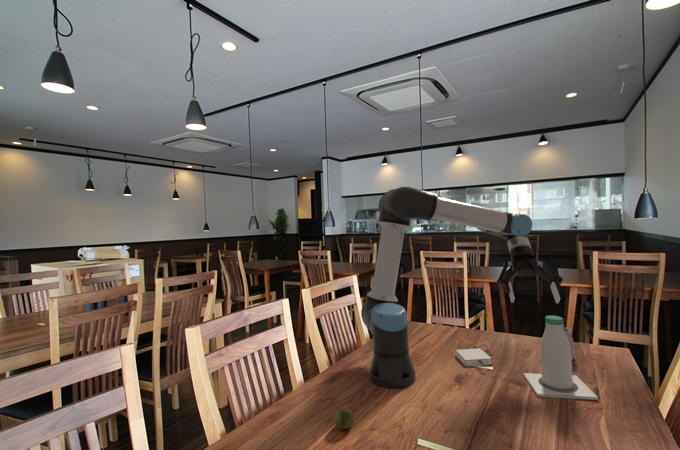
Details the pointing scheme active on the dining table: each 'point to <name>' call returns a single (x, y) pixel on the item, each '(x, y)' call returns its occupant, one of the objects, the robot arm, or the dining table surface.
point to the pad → (574, 392)
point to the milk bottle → (556, 355)
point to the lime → (344, 418)
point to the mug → (570, 339)
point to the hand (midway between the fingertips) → (535, 300)
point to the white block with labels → (474, 357)
